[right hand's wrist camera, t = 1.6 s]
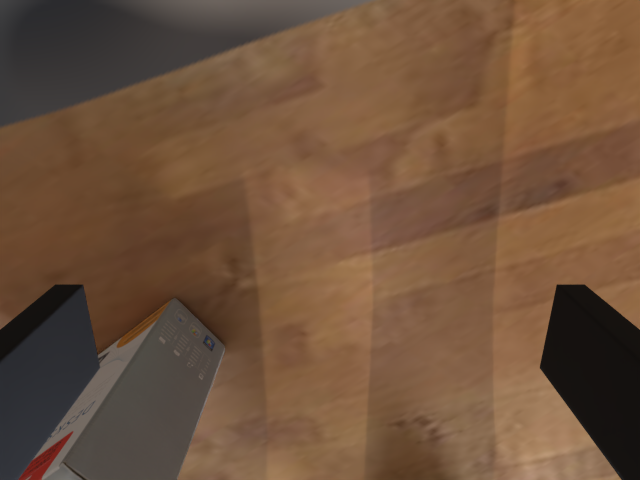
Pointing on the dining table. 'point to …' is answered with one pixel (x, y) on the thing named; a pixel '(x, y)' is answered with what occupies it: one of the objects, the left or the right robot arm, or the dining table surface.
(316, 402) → the dining table surface
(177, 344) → the hard drive box
